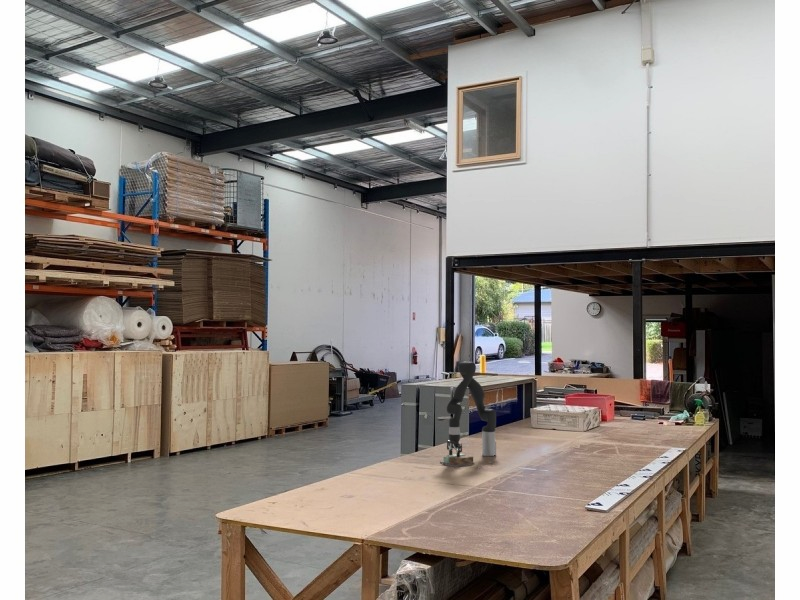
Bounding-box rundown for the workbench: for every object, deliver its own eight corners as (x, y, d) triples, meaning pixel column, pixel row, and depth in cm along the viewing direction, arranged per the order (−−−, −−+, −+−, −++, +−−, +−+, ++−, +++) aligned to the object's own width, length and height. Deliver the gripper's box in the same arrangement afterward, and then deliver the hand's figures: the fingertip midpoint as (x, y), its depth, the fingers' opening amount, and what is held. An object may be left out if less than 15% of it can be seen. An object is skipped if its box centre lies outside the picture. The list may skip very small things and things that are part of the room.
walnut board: (468, 461, 446) (468, 455, 446) (473, 462, 442) (473, 456, 442) (449, 463, 438) (449, 457, 438) (454, 465, 433) (454, 459, 434)
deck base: (461, 460, 455) (461, 458, 455) (474, 464, 442) (474, 462, 442) (439, 462, 446) (439, 461, 446) (452, 466, 433) (452, 465, 433)
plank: (460, 459, 454) (460, 453, 454) (465, 460, 450) (465, 454, 450) (443, 462, 444) (443, 456, 444) (448, 463, 440) (448, 457, 440)
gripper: (465, 434, 443) (465, 458, 443) (452, 431, 455) (452, 455, 455) (456, 435, 439) (456, 459, 439) (443, 432, 451) (443, 456, 451)
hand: (454, 457), depth 447 cm, fingers open, 8 cm apart
